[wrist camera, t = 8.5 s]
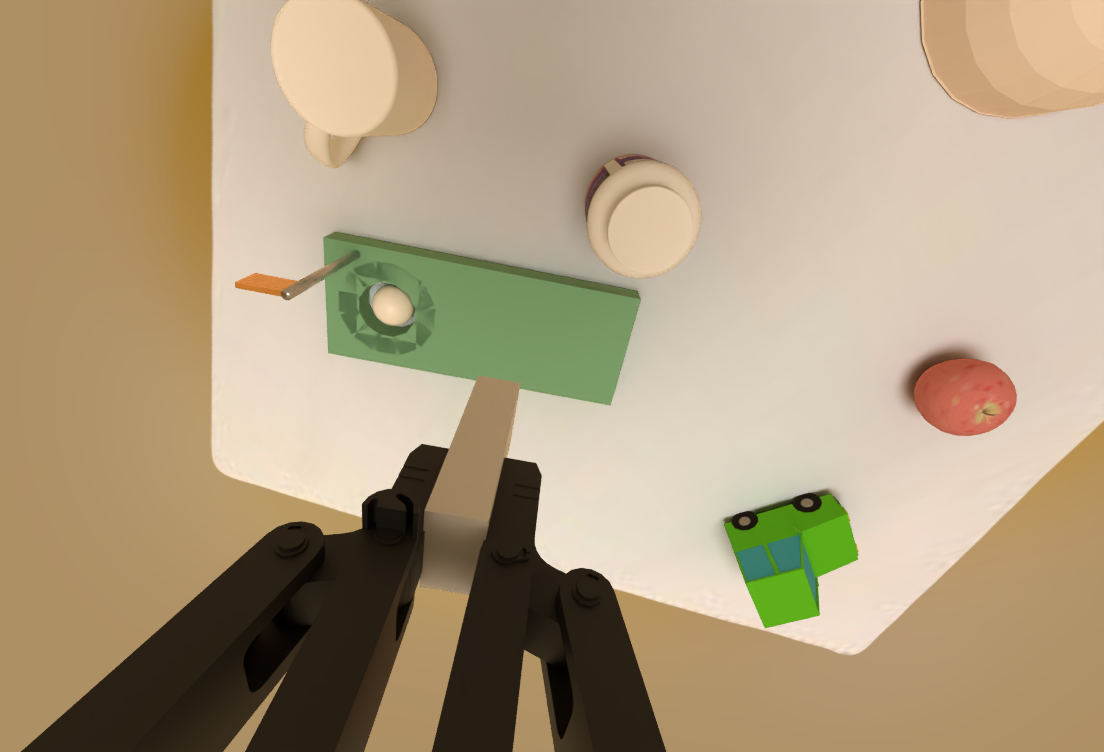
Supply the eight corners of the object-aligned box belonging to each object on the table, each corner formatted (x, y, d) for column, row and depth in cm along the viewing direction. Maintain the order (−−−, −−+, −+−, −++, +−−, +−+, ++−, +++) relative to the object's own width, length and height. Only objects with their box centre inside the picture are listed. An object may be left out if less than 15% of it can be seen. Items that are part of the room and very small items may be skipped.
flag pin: (317, 242, 44) (234, 279, 34) (360, 250, 44) (291, 290, 34) (317, 251, 44) (236, 290, 34) (360, 259, 45) (292, 301, 34)
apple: (894, 360, 49) (947, 399, 42) (973, 335, 48) (1042, 372, 41) (900, 416, 52) (951, 461, 45) (975, 395, 51) (1039, 439, 44)
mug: (420, 54, 30) (335, 207, 35) (457, 70, 39) (385, 190, 44) (302, -51, 28) (228, 127, 33) (369, -8, 37) (304, 127, 42)
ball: (402, 284, 50) (365, 281, 47) (423, 287, 47) (385, 285, 44) (401, 322, 50) (364, 322, 47) (421, 328, 48) (383, 328, 45)
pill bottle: (612, 262, 46) (625, 314, 33) (567, 188, 43) (563, 214, 30) (689, 215, 44) (734, 252, 31) (647, 133, 41) (678, 136, 28)
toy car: (844, 535, 61) (889, 605, 52) (741, 563, 64) (767, 633, 55) (827, 478, 57) (873, 543, 48) (718, 511, 60) (743, 577, 51)
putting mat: (335, 232, 46) (323, 237, 44) (637, 291, 47) (640, 299, 45) (339, 343, 52) (328, 353, 49) (609, 393, 53) (610, 405, 51)
